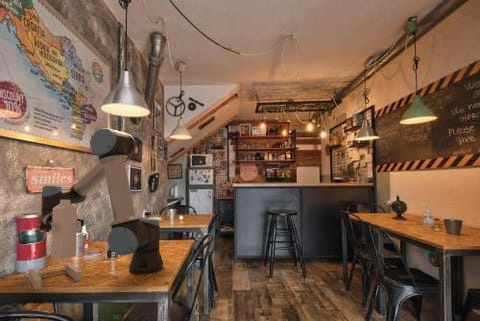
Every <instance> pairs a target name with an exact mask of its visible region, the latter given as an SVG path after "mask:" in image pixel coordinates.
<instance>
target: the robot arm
mask: <svg viewBox="0 0 480 321" xmlns="http://www.w3.org/2000/svg"><path fill="white" fill-rule="evenodd" d="M89 147H90V150H91V151H92V152H93V153H94V154H95V155H96V156H97V158H98V162H97V163H96V164H95V165H94V166H93V167H92V168H91V169H90V170H89V171H88V172H87V173H85V174H84V175H83V176H82V177H81V178H80V179H79V180H77V182H76V183H74V184H73V186H71V187H70V188H63V187H62V186H61V185H58V184H57V185H54V184H52V185H43V187H42V189H41V190H42V191H41V211H40V212H41V214H40V217H39V221H38V228H39V231H41V232H42V231H45V233H49V232H51V233H52V232H56V224H54V223H52V215H53V208H54V207H56V206H57V205H59V204H60V200H70V204H72V205H78V204H83V203H84V202H85V201H86V200H87V198H88V194H89V193H90V192H91V191H92V190H93V189H95V188H96V187H97V186H98V185H99V184H100V183H101V182H102V181H103V180H106V184H107V190H108V196H109V199H110V200H109V201H110V206H111V211H112V217H113V220H112V222H111V223H110V228H111V230H110V231H109V233H108V235H107V245H108V247H109V250H110V249H111V250H112V251H111V252H113V253H115V255H118V256H126V255H131V254H132V256H131V260H130V262H129V265H128V272H129V273H131V274H133V275H147V274H153V273H157V272H160V271H162V270H163V269H164V261H163V258H162V255H161V251H160V248H161V247H160V243H161V241H160V237H161V236H160V235H161V234H160V233H161V232H160V231H161V230H160V228H161V226H160V220H158V219H155V218H153V219H152V218H151V219H149V218H148V219H147V218H146V219H145V218H144V219H142V218H140V217H139V216H138V215H136V212H135V207H134V203H133V202H134V201H133V197H132V196H133V195H132V192H131V186H130V182H129V176H128V171H127V167H126V162H127V161H129V160H130V159H131V158H132V157H133V155H134V154H135V152H136V149H137V142H136V140H135V138H134V137H133V136H132V135H131V134H129V133H128V132H123V131H121V130H120V131H119V130H115V129H112V128H106V127H103V128H99V129H97V130H96V131H94V133H93V134H92V135H91V137H90V140H89ZM84 226H85V220H84V219H80V218H77V230H81V229H82V227H84Z"/></svg>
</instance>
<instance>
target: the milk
mask: <svg viewBox="0 0 480 321" xmlns="http://www.w3.org/2000/svg"><path fill="white" fill-rule="evenodd" d="M77 219H78V207H77V206H75V204H70V200H60V204H59V205H57V206H56V207H54V208H53V215H52V223H54V224H56V232H52V231H51V255H50V256H51V257H50V258H51V259H53V260H60V261H63V260H65V259H70V258H74V257H76V256H77V232H78V231H77V230H78V229H77Z"/></svg>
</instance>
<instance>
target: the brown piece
mask: <svg viewBox="0 0 480 321" xmlns="http://www.w3.org/2000/svg"><path fill="white" fill-rule="evenodd" d="M64 267H65V268H64V269H62V270H57V271H56V270H55V271H50V272H45V273H39V274H38V272H37V270H36V269H35V268H30V269H28V271H27V279H28V280H29V282H30V284H31V286H32V288H33V289H34V290H35V291H37V290H41V289H42V281H43V278H44V279H48V278H47V277H49V278H53V277H52V276H54V277H58V276H64V275H69V276H70V277H71V278H72V280H75V282H79V281H82V270H81V269H79V268H78V267H77V266H75V265H74V264H73V263H72V262H70V261H69V262H65V264H64Z"/></svg>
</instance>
